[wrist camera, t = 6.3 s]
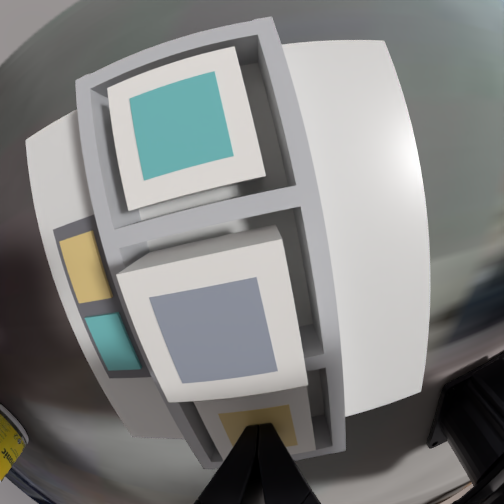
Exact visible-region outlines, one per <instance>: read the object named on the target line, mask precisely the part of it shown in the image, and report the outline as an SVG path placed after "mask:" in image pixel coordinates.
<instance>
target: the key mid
mask: <svg viewBox="0 0 504 504" xmlns="http://www.w3.org/2000/svg"><path fill="white" fill-rule="evenodd" d="M116 276H117V279H118V282H119V285H120V288H121V291H122V294H123V297H124V300H125V303H126V305H127V308H128V311H129V314H130V316H131V319H132V322H133V324H134V327H135V329H136V332H137V334H138V337H139V339H140V342H141V344H142V346H143V349H144V351H145V353H146V356H147V358H148V360H149V362H150V365H151V367H152V369H153V371H154V373H155V376H156V378H157V380H158V382H159V384H160V386H161V388H162V390H163V392H164V394H165V396H166V398H167V400H168V402H189V401H203V400H214V399H224V398H233V397H241V396H249V395H256V394H263V393H269V392H275V391H281V390H286V389H291V388H296V387H301V386H306V385H308V380H307V373H306V367H305V361H304V355H303V349H302V343H301V337H300V331H299V326H298V320H297V314H296V309H295V303H294V298H293V292H292V287H291V282H290V276H289V271H288V266H287V261H286V256H285V251H284V246H283V241H282V238H281V235H280V233H279V231H278V229H277V226H276V224H274V225H270V226H265V227H260V228H255V229H251V230H246V231H241V232H237V233H232V234H228V235H223V236H219V237H214V238H210V239H205V240H201V241H196V242H192V243H187V244H183V245H179V246H174V247H170V248H166V249H162V250H157V251H153V252H149V253H148V254H146V255H145V256H143V257H142V258H140V259H138V260H137V261H135V262H134V263H133V264H131V265H130V266H128V267H127V268H125V269H124V270H122V271H121V272H119V273H118V274H116Z"/></svg>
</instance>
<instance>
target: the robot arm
mask: <svg viewBox="0 0 504 504" xmlns="http://www.w3.org/2000/svg"><path fill="white" fill-rule="evenodd" d="M446 441H448V443H449V444H450V446H451V448H452V449H453V451H454V453H455V454H456V456H457V458H458V459H459V461H460V463H461V464H462V466H463V468H464V470H465V471H466V473H467V475H468V477H469V478H470V480H471V482H472V484H473V486H474V487H473V488H472V489H470V490H469V491H468V492H467V493H466V494H465V495H464V496H462V497H461V498H460V499H459V500H457V501H454V502H453V503H452V504H504V353H503V354H501V355H499V356H498V357H496V358H494V359H493V360H491V361H489V362H487V363H486V364H484V365H482V366H480V367H478V368H477V369H475V370H473V371H471V372H469V373H467V374H465V375H463V376H461V377H459V378H457V379H455V380H453V381H451V382H449V383H447V384H446V385H445V386H444V388H443V389H442V392H441V396H440V400H439V404H438V408H437V412H436V415H435V419H434V422H433V426H432V429H431V432H430V435H429V438H428V441H427V445H428V447H429V448H434V447H436V446H438V445H440V444H442V443H444V442H446ZM194 504H321V503H320V501H319V500H318V499H317V497H316V495H315V494H314V492H312V489H311V488H310V486H309V485H308V483H307V481H306V480H305V478H304V477H303V475H302V473H301V472H300V470H299V468H298V467H297V465H296V463H295V462H294V460H293V458H292V457H291V455H290V453H289V452H288V450H287V448H286V447H285V445H284V443H283V441H282V440H281V438H280V436H279V435H278V433H277V431H276V429H275V427H274V426H273V424H272V423H264V424H260V425H257V424H256V425H248V426H246V427H245V429H244V430H243V432H242V434H241V435H240V437H239V438H238V440H237V442H236V443H235V445H234V446H233V448H232V449H231V451H230V452H229V454H228V455H227V457H226V459H225V460H224V462H223V463H222V465H221V466H220V468H219V469H218V470H217V472H216V473H215V475H214V476H213V478H212V479H211V481H210V482H209V483H208V485H207V486H206V488H205V489H204V491H203V492H202V493H201V495H200V496H199V497H198V500H196V501H195V503H194Z"/></svg>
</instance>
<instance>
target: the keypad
mask: <svg viewBox="0 0 504 504" xmlns="http://www.w3.org/2000/svg"><path fill="white" fill-rule="evenodd" d="M234 46H235V50H236V54H237V58H238V62H239V65H240V69H241V73H242V77H243V81H244V85H245V89H246V93H247V97H248V101H249V105H250V109H251V113H252V118H253V122H254V126H255V130H256V134H257V139H258V143H259V147H260V152H261V156H262V160H263V165H264V169H265V174H266V177H265V178H263V179H259V180H254V181H249V182H245V183H240V184H236V185H231V186H227V187H223V188H219V189H215V190H210V191H206V192H202V193H198V194H194V195H191V196H187V197H183V198H179V199H175V200H172V201H168V202H164V203H161V204H157V205H153V206H149V207H144V208H140V209H135V210H131V211H128V207H127V202H126V198H125V194H124V189H123V184H122V180H121V175H120V170H119V165H118V159H117V154H116V148H115V142H114V136H113V130H112V123H111V116H110V108H109V100H108V90H107V88H108V87H111V86H113V85H115V84H117V83H120V82H122V81H124V80H127V79H129V78H132V77H134V76H137V75H139V74H142V73H144V72H147V71H150V70H153V69H155V68H158V67H161V66H164V65H167V64H170V63H173V62H176V61H179V60H183V59H186V58H189V57H193V56H196V55H200V54H204V53H208V52H212V51H216V50H220V49H224V48H229V47H234ZM75 82H76V99H77V110H75V111H73V112H71V113H69V114H67V115H66V116H64V117H62V118H60V119H59V120H57V121H55V122H53V123H52V124H50V125H48V126H47V127H45V128H44V129H42V130H40V131H39V132H37V133H36V134H34V135H33V136H31V137H30V138H28V139H27V140H26V151H27V160H28V169H29V176H30V183H31V189H32V195H33V201H34V206H35V211H36V216H37V221H38V225H39V229H40V233H41V237H42V241H43V245H44V249H45V252H46V256H47V259H48V263H49V266H50V269H51V273H52V276H53V279H54V282H55V285H56V288H57V290H58V293H59V296H60V299H61V301H62V304H63V307H64V309H65V312H66V314H67V317H68V319H69V322H70V324H71V327H72V329H73V331H74V333H75V336H76V338H77V340H78V342H79V345H80V347H81V349H82V351H83V353H84V355H85V357H86V359H87V361H88V363H89V365H90V367H91V369H92V371H93V373H94V375H95V377H96V379H97V380H98V382H99V384H100V386H101V388H102V389H103V391H104V393H105V395H106V396H107V398H108V400H109V401H110V403H111V405H112V406H113V408H114V410H115V411H116V413H117V414H118V416H119V418H120V419H121V421H122V422H123V424H124V425H125V427H126V428H127V430H128V431H129V433H130V434H131V435H132V437H142V438H168V439H185V440H186V442H187V443H188V445H189V447H190V448H191V450H192V451H193V453H194V455H195V456H196V458H197V459H198V461H199V462H200V464H201V466H202V467H203V469H215V468H220V466H221V465H222V463H223V462H224V461H223V459H222V457H221V455H220V453H219V451H218V450H217V448H216V446H215V444H214V442H213V440H212V438H211V436H210V434H209V432H208V430H207V428H206V426H205V424H204V422H203V420H202V418H201V416H200V414H199V412H198V410H197V408H196V406H195V404H194V401H189V402H168V400H167V398H166V396H165V394H164V392H163V390H162V388H161V386H160V384H159V382H158V380H157V378H156V376H155V373H154V371H153V369H152V367H151V365H150V362H149V360H148V358H147V356H146V353H145V351H144V349H143V346H142V344H141V342H140V339H139V337H138V334H137V332H136V329H135V327H134V324H133V322H132V319H131V316H130V314H129V311H128V308H127V305H126V303H125V300H124V297H123V294H122V291H121V288H120V285H119V282H118V279H117V276H116V274H118V273H119V272H121V271H122V270H124V269H125V268H127V267H128V266H130V265H131V264H133V263H134V262H135V261H137V260H138V259H140V258H142V257H143V256H145V255H146V254H148V253H149V252H153V251H157V250H162V249H166V248H170V247H174V246H179V245H183V244H187V243H192V242H196V241H201V240H205V239H210V238H214V237H219V236H223V235H228V234H232V233H237V232H241V231H246V230H251V229H255V228H260V227H265V226H270V225H274V224H276V226H277V229H278V231H279V233H280V235H281V238H282V241H283V246H284V251H285V256H286V261H287V266H288V271H289V276H290V282H291V287H292V292H293V298H294V303H295V309H296V314H297V320H298V326H299V331H300V337H301V343H302V349H303V355H304V361H305V367H306V373H307V380H308V385H306V387H307V393H308V399H309V406H310V412H311V419H312V426H313V432H314V439H315V446H316V450H314V451H309V452H304V453H298V454H293V455H291V457H292V458H293V460H294V461H296V460H301V459H307V458H312V457H317V456H322V455H326V454H331V453H337V452H341V451H345V450H346V431H345V417H347V416H350V415H354V414H358V413H361V412H364V411H368V410H371V409H374V408H377V407H380V406H383V405H386V404H389V403H392V402H395V401H398V400H401V399H403V398H406V397H409V396H411V395H414V394H416V393H419V392H421V389H422V383H423V376H424V369H425V361H426V353H427V343H428V331H429V315H430V249H429V233H428V221H427V211H426V202H425V194H424V187H423V180H422V174H421V168H420V162H419V157H418V152H417V147H416V142H415V138H414V133H413V129H412V125H411V121H410V117H409V113H408V110H407V106H406V102H405V99H404V96H403V92H402V89H401V86H400V83H399V80H398V77H397V74H396V71H395V68H394V65H393V62H392V60H391V57H390V54H389V52H388V49H387V47H386V44H385V42H384V41H375V40H334V41H315V42H303V43H293V44H284V45H281V42H280V39H279V36H278V33H277V30H276V27H275V24H274V21H273V18H272V17H266V18H259V19H253V21H249V22H243V23H238V24H233V25H228V26H223V27H219V28H214V29H210V30H206V31H202V32H198V33H195V34H191V35H188V36H184V37H181V38H178V39H174V40H171V41H168V42H165V43H162V44H159V45H157V46H154V47H151V48H148V49H146V50H143V51H141V52H138V53H136V54H133V55H131V56H128V57H126V58H124V59H121V60H119V61H117V62H114V63H112V64H110V65H108V66H106V67H104V68H102V69H100V70H98V71H96V72H94V73H92V74H87V75H85V76H83V77H81V78H79V79H78V80H76V81H75Z"/></svg>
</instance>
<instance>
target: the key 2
mask: <svg viewBox="0 0 504 504" xmlns="http://www.w3.org/2000/svg"><path fill="white" fill-rule="evenodd" d="M194 404H195V406H196V408H197V410H198V412H199V414H200V416H201V418H202V420H203V422H204V424H205V426H206V428H207V430H208V432H209V434H210V436H211V438H212V440H213V442H214V444H215V446H216V448H217V450H218V451H219V453H220V455H221V457H222V459H223V461H224V460H225V459H226V457H227V455H228V454H229V452H230V451H231V449H232V448H233V446H234V445H235V443H236V442H237V440H238V438H239V437H240V435H241V434H242V432H243V430H244V429H245V427H246V426H248V425H256V424H257V425H260V424H264V423H272V424H273V426H274V427H275V429H276V431H277V433H278V435H279V436H280V438H281V440H282V441H283V443H284V445H285V447H286V448H287V450H288V452H289V453H290V455H293V454H298V453H304V452H309V451H314V450H316V446H315V439H314V432H313V426H312V419H311V412H310V406H309V399H308V393H307V387H306V386H301V387H296V388H291V389H286V390H281V391H275V392H269V393H263V394H256V395H249V396H241V397H233V398H224V399H214V400H203V401H194Z"/></svg>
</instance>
